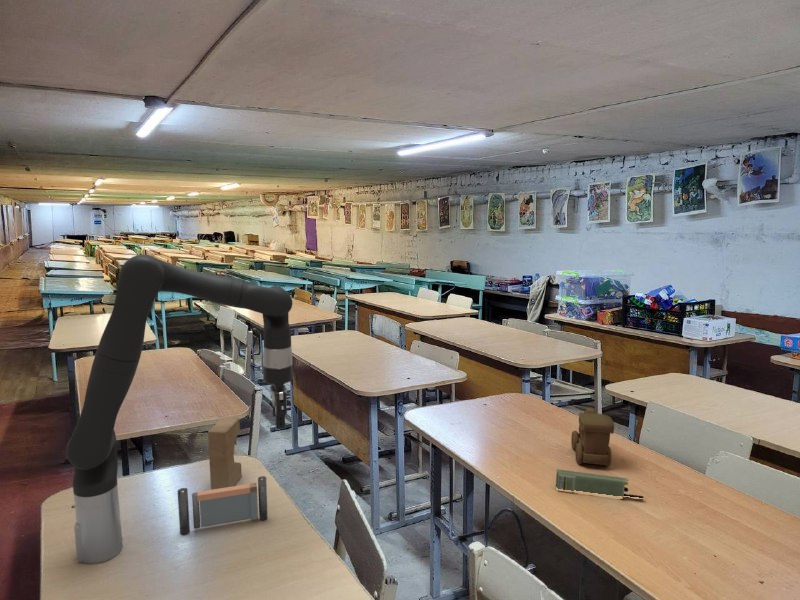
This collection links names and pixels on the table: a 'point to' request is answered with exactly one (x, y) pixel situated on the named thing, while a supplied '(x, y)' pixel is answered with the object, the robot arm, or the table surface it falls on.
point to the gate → (225, 505)
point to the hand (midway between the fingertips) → (278, 421)
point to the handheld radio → (592, 483)
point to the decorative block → (224, 453)
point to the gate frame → (185, 508)
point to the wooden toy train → (593, 438)
